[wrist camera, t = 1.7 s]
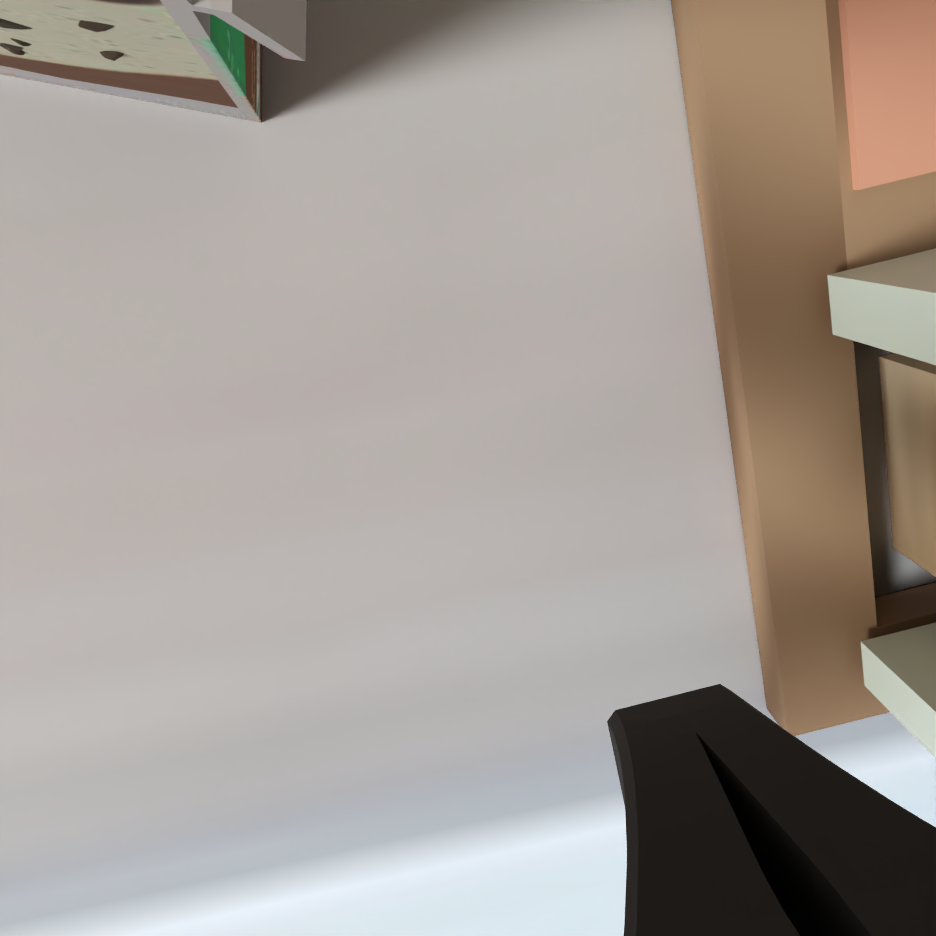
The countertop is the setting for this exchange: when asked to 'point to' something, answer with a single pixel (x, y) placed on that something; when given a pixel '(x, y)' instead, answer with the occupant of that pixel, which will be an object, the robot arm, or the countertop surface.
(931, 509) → the maple block
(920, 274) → the sliding cover
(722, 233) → the puzzle board
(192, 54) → the food container
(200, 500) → the countertop surface
